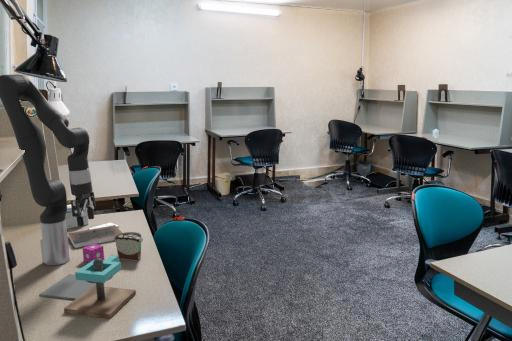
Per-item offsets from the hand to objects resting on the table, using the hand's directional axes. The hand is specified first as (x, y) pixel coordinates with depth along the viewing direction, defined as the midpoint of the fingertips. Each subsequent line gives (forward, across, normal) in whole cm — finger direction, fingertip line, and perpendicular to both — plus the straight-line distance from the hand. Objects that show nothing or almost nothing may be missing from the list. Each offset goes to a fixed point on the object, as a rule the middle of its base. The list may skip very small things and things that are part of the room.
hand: (86, 222), depth 164 cm
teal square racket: (+9, +25, +17) cm, 31 cm away
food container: (+19, -11, +12) cm, 25 cm away
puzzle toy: (+18, -7, -2) cm, 20 cm away
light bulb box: (+17, -49, -32) cm, 61 cm away
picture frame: (+18, -32, -13) cm, 38 cm away
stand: (+19, +27, +16) cm, 37 cm away
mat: (+18, +17, +1) cm, 25 cm away
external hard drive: (+18, -45, -15) cm, 51 cm away
